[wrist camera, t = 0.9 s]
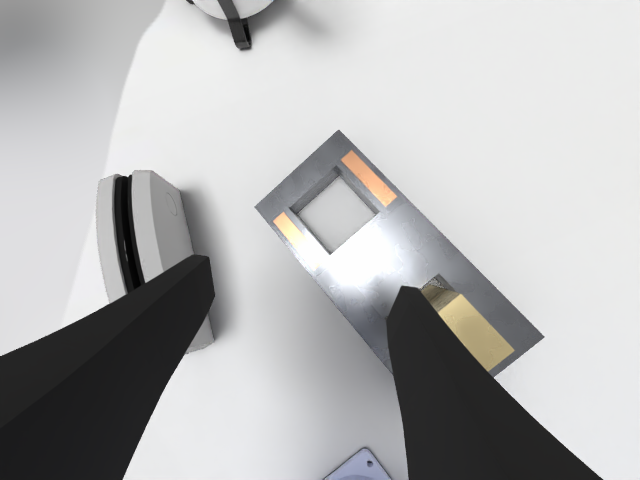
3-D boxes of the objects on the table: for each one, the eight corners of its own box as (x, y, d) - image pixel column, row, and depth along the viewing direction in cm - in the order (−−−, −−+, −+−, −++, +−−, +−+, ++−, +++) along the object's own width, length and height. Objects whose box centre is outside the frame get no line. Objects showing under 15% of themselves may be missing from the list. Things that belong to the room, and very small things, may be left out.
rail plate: (522, 328, 20) (546, 337, 17) (425, 405, 20) (434, 426, 18) (341, 143, 24) (338, 128, 21) (265, 212, 24) (253, 206, 22)
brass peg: (464, 321, 21) (515, 350, 14) (427, 352, 21) (458, 395, 14) (429, 284, 21) (460, 293, 14) (393, 314, 22) (408, 337, 15)
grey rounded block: (139, 203, 27) (61, 155, 17) (184, 193, 28) (134, 143, 18) (170, 357, 25) (100, 400, 15) (219, 341, 26) (182, 372, 16)
